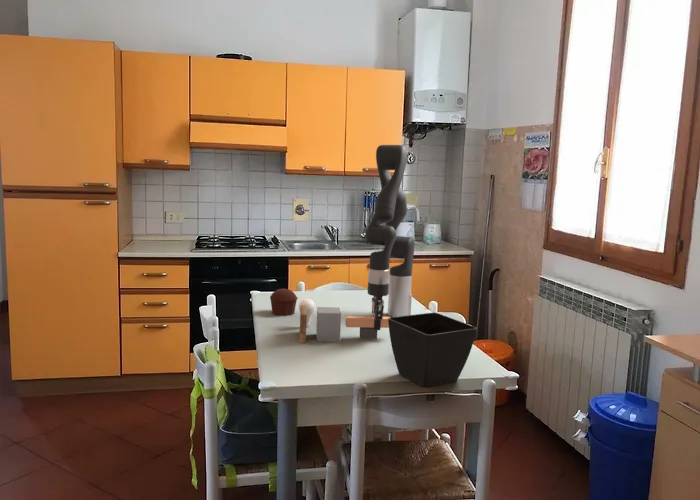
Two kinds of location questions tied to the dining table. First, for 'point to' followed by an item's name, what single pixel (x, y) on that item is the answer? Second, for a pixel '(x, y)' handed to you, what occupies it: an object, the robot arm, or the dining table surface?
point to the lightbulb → (308, 309)
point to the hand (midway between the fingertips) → (376, 328)
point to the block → (328, 324)
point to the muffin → (283, 302)
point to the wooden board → (303, 323)
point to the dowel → (365, 321)
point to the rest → (368, 333)
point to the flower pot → (430, 347)
